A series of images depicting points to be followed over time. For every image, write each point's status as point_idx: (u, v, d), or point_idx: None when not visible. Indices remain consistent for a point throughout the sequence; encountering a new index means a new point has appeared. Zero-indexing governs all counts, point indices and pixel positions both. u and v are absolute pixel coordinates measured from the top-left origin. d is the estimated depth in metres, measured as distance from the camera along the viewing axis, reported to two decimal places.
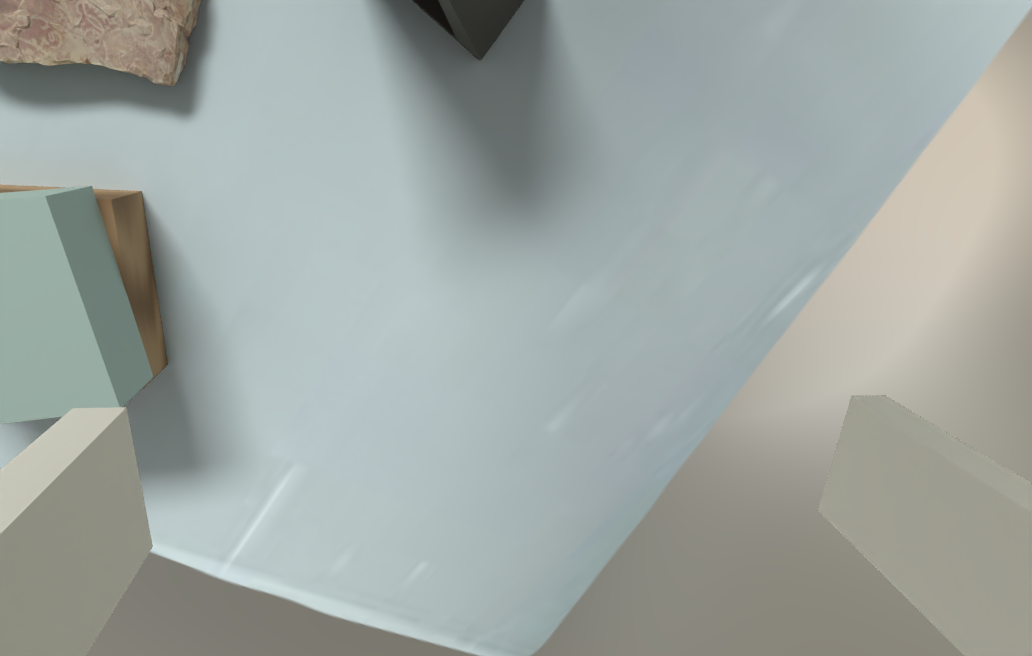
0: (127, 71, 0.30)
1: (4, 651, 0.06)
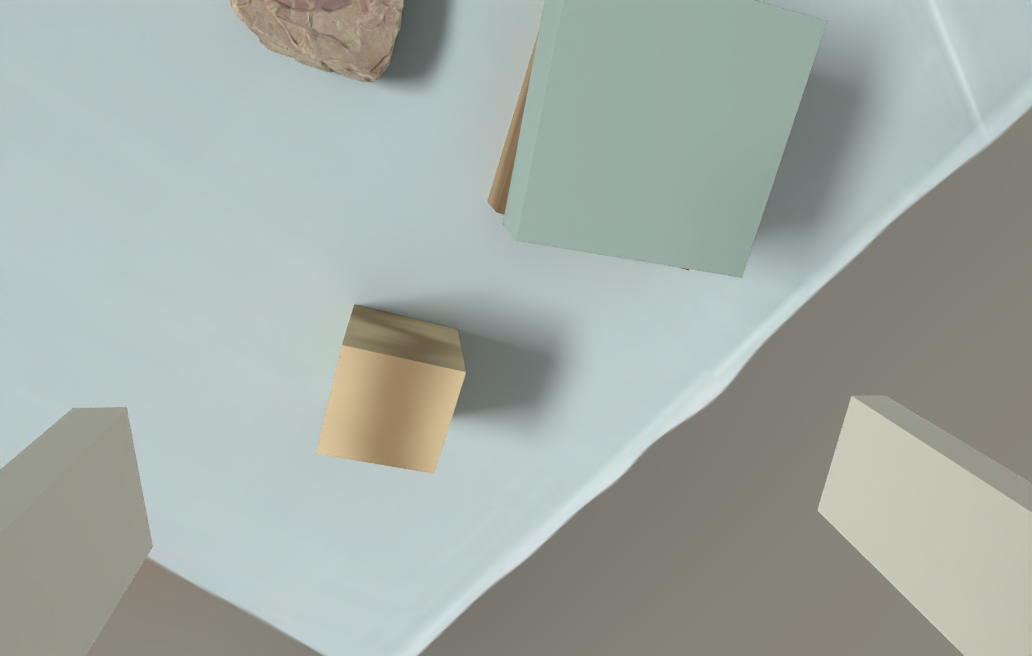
0: None
1: (4, 651, 0.06)
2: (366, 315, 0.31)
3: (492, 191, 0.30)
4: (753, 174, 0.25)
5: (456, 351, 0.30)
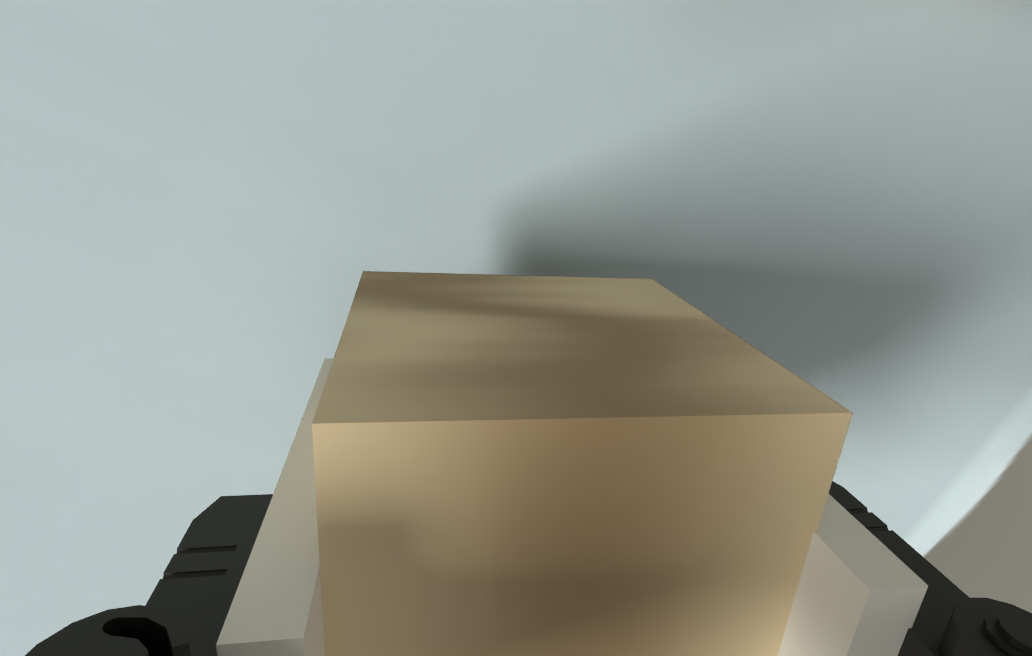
0: None
1: None
2: (402, 291, 0.10)
3: None
4: None
5: (722, 338, 0.09)
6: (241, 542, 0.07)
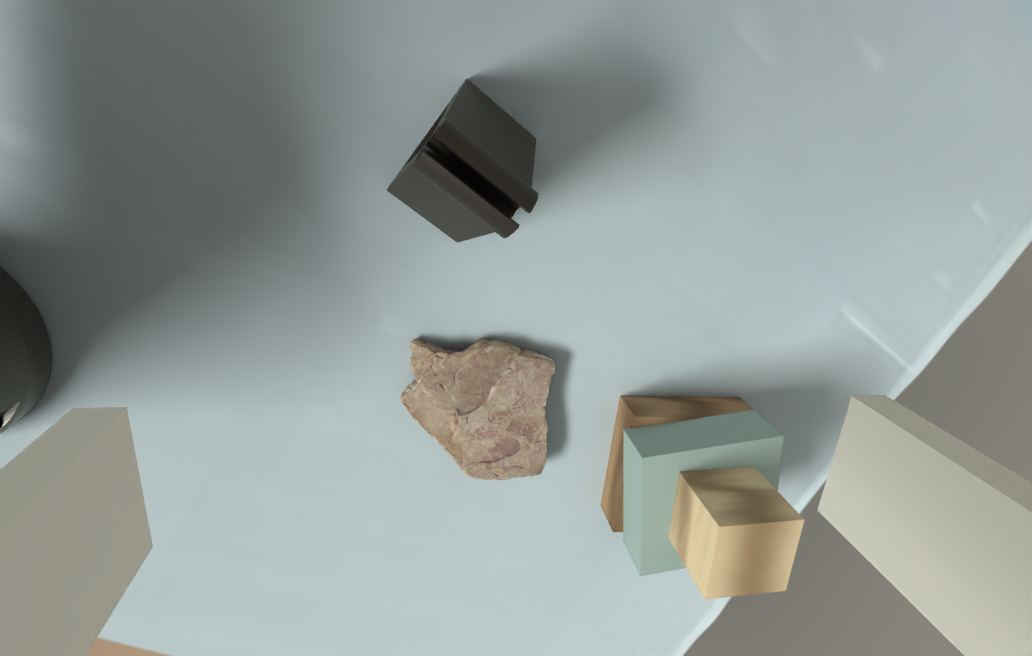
0: (548, 386, 0.44)
1: (4, 651, 0.06)
2: (697, 482, 0.41)
3: (603, 503, 0.50)
4: None
5: (778, 496, 0.39)
6: None
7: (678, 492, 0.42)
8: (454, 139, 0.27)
